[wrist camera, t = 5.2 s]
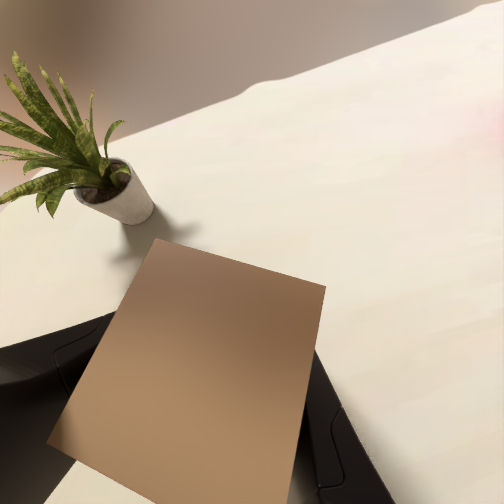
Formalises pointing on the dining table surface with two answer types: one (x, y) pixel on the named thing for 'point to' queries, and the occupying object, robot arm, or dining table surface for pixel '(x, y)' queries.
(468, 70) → the dining table surface
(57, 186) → the house plant
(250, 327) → the wooden block
